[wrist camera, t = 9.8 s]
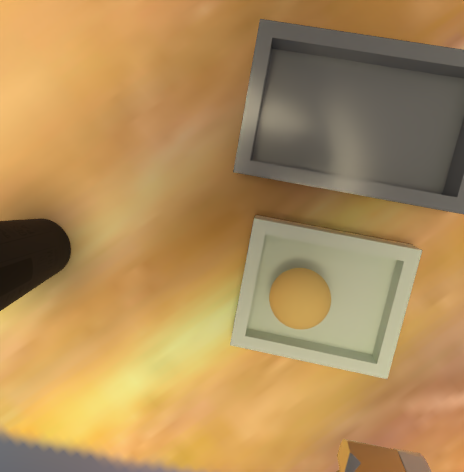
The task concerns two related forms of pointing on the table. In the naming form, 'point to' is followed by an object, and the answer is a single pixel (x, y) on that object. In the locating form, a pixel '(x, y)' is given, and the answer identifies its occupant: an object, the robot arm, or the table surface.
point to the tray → (342, 295)
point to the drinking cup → (29, 256)
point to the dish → (355, 115)
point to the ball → (300, 298)
